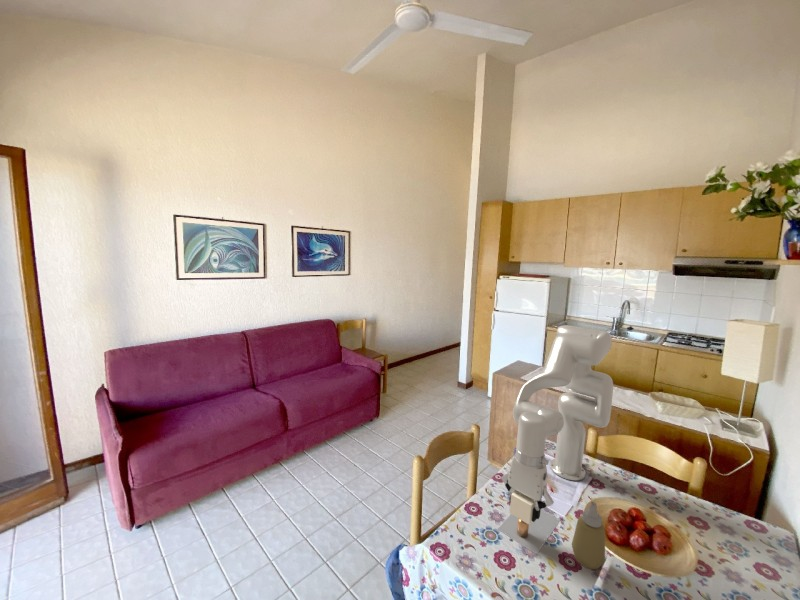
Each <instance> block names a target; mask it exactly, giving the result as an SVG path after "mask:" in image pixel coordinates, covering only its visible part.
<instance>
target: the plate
mask: <svg viewBox="0 0 800 600" xmlns="http://www.w3.org/2000/svg"><path fill="white" fill-rule="evenodd" d="M560 522H561V519H559V518H557V517H556V516H554V515H552V514H551V513H549V512H547V511H545V510H543V509H541V511H540V517H539V519H536V520H535V522H533V521H532V522H531V523H530V525H529V531H528V537H527V538H522V537H520V536H519V535H518V534H517V524H518V518H517V517H515V516H514V515H512V514H510V515H509V516H508V517H507V518H506V519H505V521H503V522H502V524H500V526H499V527H498V528H497V530H498V531H499V532H501V534H505V536H507V537H509V538H510V539H511V540H513V541H515V542H516V543H518V544H519V545H521V546H523V547H524V548H526V549H527V550H529V551H530V552H531V553H533V554H535V555H538V553H539V552H540V550H541V549H542V548H543V547H544V545H545V543H546V542H547V540H548V539H549V538H550V536H551V535H552V533H553V532H554V530H555V529H556V527H557V526H558V524H559V523H560Z"/></svg>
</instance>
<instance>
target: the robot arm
mask: <svg viewBox="0 0 800 600" xmlns="http://www.w3.org/2000/svg"><path fill="white" fill-rule="evenodd" d="M555 335H556V336H555V338H554V339H553V342H552V345H551V346H550V350H549V353H548V356H547V359H546V362H545V364H544V367H543V370H542V371H541V372H540V373H538V374H535V375H534V376H533V377H531V378H530V379H528V380H527V381H526V382H525V383H524V384H523V385H522V386H521V388H520V390H519V392H518V394H517V396H516V397H517V398H516V399H515V403H514V404H513V408H512V417H513V419H514V421H515V422H516V423H517V424H518V427H517V437H516V446H515V448H516V449H515V453H514V454H513V457H512V459H511V463H510V467H509V471H508V472H507V473H505V474H503V475H502V476H501V481H502V483H504V486H505V488H506V490H507V491H508V495H509V504H510V502H511V494H512V493H513V492H515V490H517V491H519V492H520V493H522V494H524V495H526V496H528V497H530V498H532V499H533V502H534V508H533V513H532V521H533V522H535V520H536V519H539V517H540V511H541V510H543V509H545V508H548V507H550V506H553V504H554V500H553V498H552V497H551V495H550V493H549V492H548V470H547V469H548V468H547V466H548V465H549V467H550V469H551V471H552V472H553V473H554V474H556V475H558V477H561V478H563V479H566V480H569V481H582V480H583V479H585V478H586V470H585V469H584V467H583V457H584V449H585V442H586V429H585V426H584V424H583V423H585V424H588V425H590V426H594V427H597V428H606V427H608V425H609V423H610V419H611V413H612V406H613V405H612V403H613V395H614V380H613V379H612V377H611V376H610V375H609V374H608V373H605V372H601V371H597V370H594V369H592V366H598V365H599V364H600V363H601V362H602V361H603V360H604V359H605V357H606V356H607V355H608V354H609V352H610V350H611V347H612V342H613V341H612V337H611V334H610V333H609V332H608V331H605V330H599V329H596V328H595V329H594V328H588V327H583V326H576V325H567V324H566V325H565V324H564V325H559V326H558V327H557V329H556V334H555ZM560 387H565V388H566V389H567V390H568V391H571V392H568V391H566V392H563V393H562V394H560V395H559V397H558V400H557V406H558V407H557V408H558V410H556V409H555V408H551V407H547V406H544V405H541V404H539V403H535V402H533V401H530V399H531V398H532V396H533V395H534V394H535V393H537V392H539V391H542V390H547V389H550V388H560ZM555 435H556V436H557V437H556V443H555V444H556V447H555V457H554V458H553V459H552V460H551V461H549V459H547V458H546V456H545V455H546V454H545V448H546V440H547V439H548V438H550V437H553V436H555ZM549 462H550V463H549ZM542 498H544V500H543V499H542Z"/></svg>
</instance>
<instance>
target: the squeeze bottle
mask: <svg viewBox="0 0 800 600" xmlns="http://www.w3.org/2000/svg"><path fill="white" fill-rule="evenodd" d="M572 537H573V538H572V540H571V541H572V542H571V548H572V552H573V555H574V558H575V560H576V561H577V562H578V563H579V564H580V565H581V566H582V567H585V568H586V569H590V570H598V569H600V568H601V566H602V564H603V563H604V562H605V558H606V529H605V526H604V524H603V518H602V516H601V515H600V514H599V513H598V509H597V503H596V502H594V501H591V503H590V505H589V508H588V509H584V510H583V511H582V515H581V516H578V519H577V522H576V526H575V531H574V534H573V536H572Z"/></svg>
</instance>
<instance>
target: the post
mask: <svg viewBox="0 0 800 600" xmlns="http://www.w3.org/2000/svg"><path fill="white" fill-rule="evenodd" d="M528 531H529V524H527V523H525V522H524V521H522V520H520V519H519V518H518V524H517V534H518V535H519V536H520V537H522V538H527V537H528Z"/></svg>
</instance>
